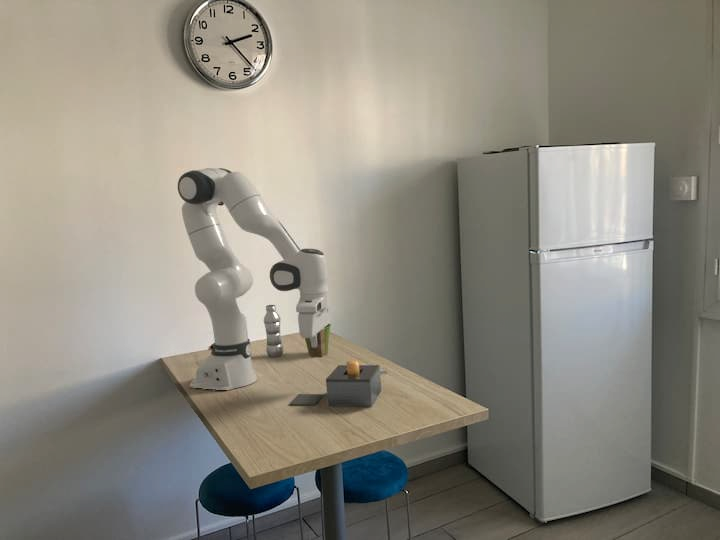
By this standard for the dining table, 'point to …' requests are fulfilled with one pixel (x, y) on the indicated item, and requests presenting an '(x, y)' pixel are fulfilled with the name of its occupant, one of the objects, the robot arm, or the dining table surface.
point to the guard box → (354, 386)
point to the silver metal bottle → (273, 332)
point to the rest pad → (306, 399)
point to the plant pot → (326, 339)
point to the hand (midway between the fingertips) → (317, 344)
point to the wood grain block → (319, 346)
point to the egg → (353, 367)
